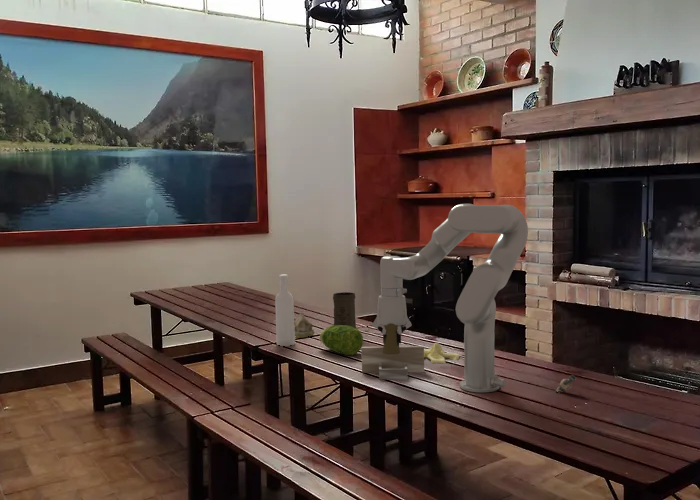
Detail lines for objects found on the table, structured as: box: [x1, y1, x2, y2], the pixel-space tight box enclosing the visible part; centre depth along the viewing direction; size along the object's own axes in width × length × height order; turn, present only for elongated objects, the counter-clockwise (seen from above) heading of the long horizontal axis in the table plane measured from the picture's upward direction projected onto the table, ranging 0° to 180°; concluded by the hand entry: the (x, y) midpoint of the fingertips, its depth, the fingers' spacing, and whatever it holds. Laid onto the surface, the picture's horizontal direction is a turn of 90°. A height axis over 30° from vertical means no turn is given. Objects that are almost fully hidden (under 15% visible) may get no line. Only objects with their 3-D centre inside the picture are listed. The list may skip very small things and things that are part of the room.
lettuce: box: [319, 324, 364, 357], centre depth 260 cm, size 12×21×11 cm, turn 43°
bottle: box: [274, 273, 296, 347], centre depth 274 cm, size 8×8×30 cm
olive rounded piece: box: [382, 323, 400, 355], centre depth 222 cm, size 6×6×11 cm
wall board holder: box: [361, 345, 425, 380], centre depth 224 cm, size 10×22×9 cm, turn 87°
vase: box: [554, 374, 577, 392], centre depth 201 cm, size 5×5×6 cm
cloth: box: [424, 342, 461, 365], centre depth 248 cm, size 22×19×6 cm
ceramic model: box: [294, 312, 315, 338], centre depth 295 cm, size 14×11×10 cm
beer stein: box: [332, 291, 357, 328], centre depth 289 cm, size 15×11×20 cm
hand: (392, 344), depth 222 cm, fingers closed on olive rounded piece, 3 cm apart
